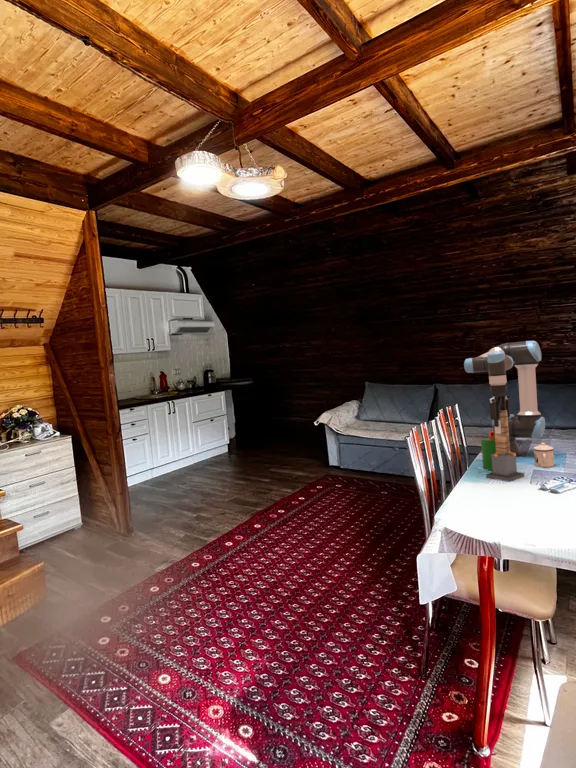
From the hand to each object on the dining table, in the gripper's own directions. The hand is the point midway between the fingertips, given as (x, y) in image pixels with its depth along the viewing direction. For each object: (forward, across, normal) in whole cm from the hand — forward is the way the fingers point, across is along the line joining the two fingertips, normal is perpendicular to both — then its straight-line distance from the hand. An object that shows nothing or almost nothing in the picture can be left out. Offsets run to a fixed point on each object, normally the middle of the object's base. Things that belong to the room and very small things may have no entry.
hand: (501, 432), depth 210 cm
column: (+12, 0, 0) cm, 12 cm away
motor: (+22, -10, -12) cm, 27 cm away
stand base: (+22, 0, 0) cm, 22 cm away
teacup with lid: (+22, -29, +3) cm, 36 cm away
